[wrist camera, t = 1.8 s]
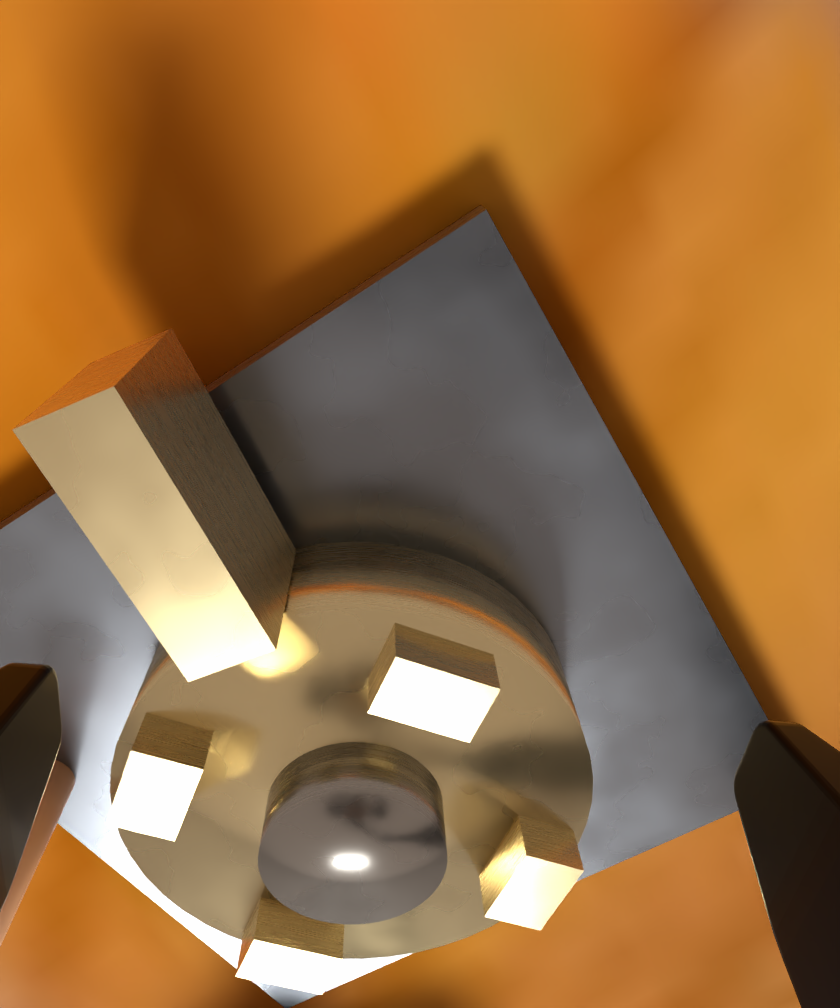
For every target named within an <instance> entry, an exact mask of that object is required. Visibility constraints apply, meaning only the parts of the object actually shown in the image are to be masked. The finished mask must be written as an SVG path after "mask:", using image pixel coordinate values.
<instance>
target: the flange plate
mask: <svg viewBox="0 0 840 1008" xmlns="http://www.w3.org/2000/svg"><path fill="white" fill-rule="evenodd" d="M205 388H206V390H207V392H208V393H209V395H210V397H211V399H212V401H213V402H214V404H215V406H216V408H217V410H218V411H219V413H220V415H221V417H222V418H223V420H224V422H225V424H226V426H227V427H228V429H229V431H230V433H231V435H232V436H233V438H234V440H235V442H236V444H237V445H238V447H239V449H240V451H241V453H242V454H243V456H244V458H245V460H246V461H247V463H248V465H249V467H250V469H251V470H252V472H253V474H254V476H255V478H256V479H257V481H258V483H259V485H260V487H261V488H262V490H263V492H264V494H265V495H266V497H267V499H268V501H269V503H270V504H271V506H272V508H273V510H274V512H275V513H276V515H277V517H278V519H279V521H280V522H281V524H282V526H283V528H284V530H285V531H286V533H287V535H288V537H289V538H290V540H291V542H292V544H293V546H294V547H295V548H300V547H305V546H310V545H316V544H321V543H335V542H349V541H358V542H381V543H389V544H396V545H402V546H408V547H414V548H418V549H421V550H425V551H428V552H432V553H436V554H439V555H443V556H445V557H448V558H450V559H452V560H455V561H457V562H460V563H462V564H464V565H467V566H469V567H471V568H473V569H475V570H476V571H478V572H480V573H482V574H483V575H485V576H487V577H489V578H490V579H492V580H494V581H495V582H497V583H498V584H499V585H501V586H502V587H503V588H504V589H506V590H507V591H508V592H510V593H511V594H512V595H514V596H515V597H516V598H517V599H518V600H519V601H520V602H521V603H522V604H523V605H524V606H525V607H526V608H527V609H528V610H529V611H530V612H531V613H532V614H533V615H534V617H535V618H536V619H537V621H538V622H539V623H540V625H541V626H542V628H543V629H544V630H545V632H546V633H547V635H548V636H549V638H550V640H551V642H552V644H553V646H554V648H555V650H556V652H557V654H558V656H559V659H560V662H561V666H562V669H563V672H564V675H565V678H566V681H567V684H568V687H569V690H570V694H571V697H572V700H573V703H574V706H575V709H576V712H577V715H578V718H579V722H580V725H581V728H582V731H583V734H584V737H585V740H586V744H587V747H588V750H589V753H590V757H591V765H592V773H593V792H592V803H591V808H590V812H589V816H588V820H587V824H586V826H585V829H584V831H583V834H582V836H581V838H580V841H579V843H578V845H577V846H578V849H579V853H580V857H581V861H582V865H583V868H584V872H583V873H582V874H581V876H580V877H579V878H578V880H577V881H579V880H581V879H583V878H585V877H588V876H590V875H592V874H595V873H597V872H599V871H601V870H604V869H606V868H608V867H610V866H613V865H615V864H617V863H620V862H622V861H624V860H626V859H629V858H631V857H633V856H635V855H638V854H640V853H642V852H645V851H647V850H649V849H651V848H654V847H656V846H658V845H661V844H663V843H665V842H667V841H670V840H672V839H674V838H676V837H679V836H681V835H683V834H686V833H688V832H690V831H692V830H695V829H697V828H699V827H702V826H704V825H706V824H708V823H711V822H713V821H715V820H717V819H720V818H722V817H724V816H727V815H729V814H731V813H733V812H736V811H738V807H737V803H736V799H735V794H734V779H735V774H736V771H737V769H738V766H739V764H740V762H741V759H742V757H743V754H744V752H745V750H746V747H747V745H748V743H749V740H750V738H751V736H752V733H753V731H754V729H755V727H756V726H757V725H758V724H759V723H761V722H763V721H768V719H767V717H766V715H765V713H764V711H763V709H762V708H761V706H760V704H759V702H758V700H757V699H756V697H755V695H754V693H753V691H752V690H751V688H750V686H749V684H748V682H747V681H746V679H745V677H744V675H743V673H742V671H741V670H740V668H739V666H738V664H737V662H736V661H735V659H734V657H733V655H732V653H731V652H730V650H729V648H728V646H727V644H726V643H725V641H724V639H723V637H722V635H721V633H720V632H719V630H718V628H717V626H716V624H715V623H714V621H713V619H712V617H711V615H710V614H709V612H708V610H707V608H706V606H705V605H704V603H703V601H702V599H701V597H700V595H699V594H698V592H697V590H696V588H695V586H694V585H693V583H692V581H691V579H690V577H689V576H688V574H687V572H686V570H685V568H684V567H683V565H682V563H681V561H680V559H679V557H678V556H677V554H676V552H675V550H674V548H673V547H672V545H671V543H670V541H669V539H668V538H667V536H666V534H665V532H664V530H663V529H662V527H661V525H660V523H659V521H658V519H657V518H656V516H655V514H654V512H653V510H652V509H651V507H650V505H649V503H648V501H647V500H646V498H645V496H644V494H643V492H642V491H641V489H640V487H639V485H638V483H637V481H636V480H635V478H634V476H633V474H632V472H631V471H630V469H629V467H628V465H627V463H626V462H625V460H624V458H623V456H622V454H621V453H620V451H619V449H618V447H617V445H616V443H615V442H614V440H613V438H612V436H611V434H610V433H609V431H608V429H607V427H606V425H605V424H604V422H603V420H602V418H601V416H600V415H599V413H598V411H597V409H596V407H595V405H594V404H593V402H592V400H591V398H590V396H589V395H588V393H587V391H586V389H585V387H584V386H583V384H582V382H581V380H580V378H579V377H578V375H577V373H576V371H575V369H574V367H573V366H572V364H571V362H570V360H569V358H568V357H567V355H566V353H565V351H564V349H563V348H562V346H561V344H560V342H559V340H558V339H557V337H556V335H555V333H554V331H553V329H552V328H551V326H550V324H549V322H548V320H547V319H546V317H545V315H544V313H543V311H542V310H541V308H540V306H539V304H538V302H537V301H536V299H535V297H534V295H533V293H532V291H531V290H530V288H529V286H528V284H527V282H526V281H525V279H524V277H523V275H522V273H521V272H520V270H519V268H518V266H517V264H516V263H515V261H514V259H513V257H512V255H511V253H510V252H509V250H508V248H507V246H506V244H505V243H504V241H503V239H502V237H501V235H500V234H499V232H498V230H497V228H496V226H495V225H494V223H493V221H492V219H491V217H490V215H489V214H488V212H487V210H486V209H485V208H484V207H483V206H482V205H480V206H478V207H477V208H475V209H474V210H472V211H471V212H469V213H468V214H466V215H465V216H463V217H462V218H460V219H459V220H457V221H456V222H454V223H453V224H451V225H450V226H448V227H447V228H445V229H444V230H442V231H440V232H439V233H437V234H436V235H434V236H433V237H431V238H430V239H428V240H427V241H425V242H424V243H422V244H421V245H419V246H418V247H416V248H415V249H413V250H412V251H410V252H409V253H407V254H406V255H404V256H403V257H401V258H400V259H398V260H397V261H395V262H394V263H392V264H391V265H389V266H388V267H386V268H385V269H383V270H381V271H380V272H378V273H377V274H375V275H374V276H372V277H371V278H369V279H368V280H366V281H365V282H363V283H362V284H360V285H359V286H357V287H356V288H354V289H353V290H351V291H350V292H348V293H347V294H345V295H344V296H342V297H341V298H339V299H338V300H336V301H335V302H333V303H332V304H330V305H329V306H327V307H325V308H324V309H322V310H321V311H319V312H318V313H316V314H315V315H313V316H312V317H310V318H309V319H307V320H306V321H304V322H303V323H301V324H300V325H298V326H297V327H295V328H294V329H292V330H291V331H289V332H288V333H286V334H285V335H283V336H282V337H280V338H279V339H277V340H276V341H274V342H273V343H271V344H270V345H268V346H266V347H265V348H263V349H262V350H260V351H259V352H257V353H256V354H254V355H253V356H251V357H250V358H248V359H247V360H245V361H244V362H242V363H241V364H239V365H238V366H236V367H235V368H233V369H232V370H230V371H229V372H227V373H226V374H224V375H223V376H221V377H220V378H218V379H217V380H215V381H214V382H212V383H211V384H209V385H207V386H206V387H205ZM159 643H160V641H159V639H158V638H157V637H156V635H155V634H154V632H153V631H152V629H151V628H150V627H149V625H148V624H147V622H146V621H145V619H144V618H143V617H142V615H141V614H140V612H139V611H138V609H137V608H136V606H135V605H134V604H133V602H132V601H131V599H130V598H129V596H128V595H127V594H126V592H125V591H124V589H123V588H122V586H121V585H120V584H119V582H118V581H117V579H116V578H115V576H114V575H113V574H112V572H111V571H110V569H109V568H108V566H107V565H106V563H105V562H104V561H103V559H102V558H101V556H100V555H99V553H98V552H97V551H96V549H95V548H94V546H93V545H92V543H91V542H90V541H89V539H88V538H87V536H86V535H85V533H84V532H83V530H82V529H81V528H80V526H79V525H78V523H77V522H76V520H75V519H74V518H73V516H72V515H71V513H70V512H69V510H68V509H67V508H66V506H65V505H64V503H63V502H62V500H61V499H60V497H59V496H58V495H57V493H56V492H55V490H54V489H53V488H52V489H50V490H49V491H47V492H46V493H44V494H43V495H41V496H40V497H38V498H37V499H35V500H33V501H32V502H30V503H29V504H27V505H26V506H24V507H23V508H21V509H20V510H18V511H17V512H15V513H14V514H12V515H11V516H9V517H8V518H6V519H5V520H3V521H2V522H0V668H1V667H3V666H5V665H7V664H10V663H17V662H18V663H31V664H44V665H49V666H51V667H52V668H53V669H54V670H55V672H56V675H57V680H58V691H59V702H60V713H61V724H62V734H61V742H60V746H59V750H58V753H57V756H56V759H55V760H57V761H60V762H62V763H63V764H65V765H66V766H68V767H69V768H70V770H71V771H72V772H73V774H74V776H75V785H74V788H73V790H72V792H71V794H70V796H69V798H68V801H67V803H66V805H65V807H64V809H63V811H62V814H61V816H60V818H59V820H58V822H57V823H58V824H59V825H61V826H62V827H63V828H64V829H66V830H67V831H68V832H69V833H71V834H72V835H73V836H74V837H75V838H77V839H78V840H79V841H80V842H82V843H83V844H84V845H85V846H86V847H88V848H89V849H90V850H91V851H93V852H94V853H95V854H96V855H98V856H99V857H100V858H101V859H102V860H104V861H105V862H106V863H107V864H109V865H110V866H111V867H112V868H114V869H115V870H116V871H117V872H118V873H120V874H121V875H122V876H123V877H125V878H126V879H127V880H128V881H130V882H131V883H132V884H133V885H134V886H136V887H137V888H138V889H139V890H141V891H142V892H143V893H144V894H146V895H147V896H148V897H149V898H150V899H152V900H153V901H154V902H155V903H157V904H158V905H159V906H160V907H161V908H163V909H164V910H165V911H166V912H168V913H169V914H170V915H171V916H173V917H174V918H175V919H176V920H177V921H179V922H180V923H181V924H182V925H184V926H185V927H186V928H187V929H189V930H190V931H191V932H192V933H193V934H195V935H196V936H197V937H198V938H200V939H201V940H202V941H203V942H205V943H206V944H207V945H208V946H209V947H211V948H212V949H213V950H214V951H216V952H217V953H218V954H219V955H221V956H222V957H223V958H224V959H225V960H227V961H228V962H229V963H230V964H232V965H233V966H234V967H235V968H236V969H237V965H238V959H239V953H240V948H241V942H242V940H240V939H237V938H234V937H231V936H229V935H227V934H224V933H222V932H220V931H218V930H216V929H214V928H212V927H210V926H208V925H206V924H204V923H202V922H201V921H199V920H198V919H196V918H194V917H193V916H191V915H189V914H188V913H186V912H185V911H183V910H182V909H180V908H179V907H178V906H177V905H175V904H174V903H173V902H172V901H170V900H169V899H168V898H167V897H165V896H164V895H163V894H162V893H161V892H160V891H159V890H158V889H157V888H156V887H155V886H154V885H153V884H152V883H151V882H150V881H149V880H148V879H147V878H146V877H145V875H144V874H143V873H142V871H141V870H140V869H139V867H138V866H137V865H136V863H135V862H134V861H133V859H132V858H131V856H130V854H129V852H128V850H127V848H126V847H125V845H124V843H123V841H122V839H121V837H120V834H119V831H118V828H117V827H114V826H110V825H106V822H107V819H108V816H109V813H110V810H111V807H112V804H111V797H110V775H111V765H112V761H113V756H114V752H115V748H116V744H117V742H118V739H119V737H120V735H121V732H122V730H123V728H124V725H125V723H126V720H127V718H128V716H129V713H130V711H131V709H132V706H133V704H134V702H135V699H136V697H137V695H138V692H139V690H140V687H141V685H142V683H143V680H144V678H145V676H146V673H147V671H148V669H149V666H150V664H151V662H152V659H153V657H154V655H155V652H156V650H157V648H158V645H159ZM410 954H412V953H410ZM410 954H404V955H397V956H391V957H381V958H368V959H343V960H342V961H341V963H340V965H339V966H338V968H337V970H336V972H335V973H334V975H333V977H332V978H331V980H330V982H329V984H328V985H327V987H326V989H325V990H324V992H326V991H328V990H330V989H333V988H335V987H337V986H339V985H342V984H344V983H346V982H349V981H351V980H353V979H355V978H358V977H360V976H362V975H365V974H367V973H369V972H371V971H374V970H376V969H378V968H380V967H383V966H385V965H387V964H390V963H392V962H394V961H396V960H399V959H401V958H403V957H406V956H408V955H410ZM251 981H252V982H254V983H255V984H256V985H257V986H259V987H260V988H261V989H262V990H264V991H265V992H266V993H267V994H268V995H270V996H271V997H272V998H273V999H275V1000H276V1001H277V1002H278V1003H280V1004H281V1005H282V1006H283V1007H284V1008H289V1007H292V1006H294V1005H296V1004H298V1003H301V1002H303V1001H305V1000H308V999H310V998H312V997H314V996H317V995H319V994H316V993H311V992H306V991H301V990H296V989H292V988H287V987H282V986H277V985H273V984H268V983H263V982H258V981H254V980H251ZM324 992H323V993H324Z"/></svg>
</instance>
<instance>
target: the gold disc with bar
mask: <svg viewBox="0 0 840 1008" xmlns="http://www.w3.org/2000/svg"><path fill="white" fill-rule="evenodd" d="M13 431H14V433H15V434H16V436H17V437H18V439H19V440H20V442H21V443H22V444H23V446H24V447H25V449H26V450H27V452H28V453H29V454H30V456H31V457H32V459H33V460H34V462H35V463H36V464H37V466H38V467H39V469H40V470H41V472H42V473H43V475H44V476H45V477H46V479H47V480H48V482H49V483H50V485H51V486H52V487H53V489H54V490H55V492H56V493H57V495H58V496H59V497H60V499H61V500H62V502H63V503H64V505H65V506H66V508H67V509H68V510H69V512H70V513H71V515H72V516H73V518H74V519H75V520H76V522H77V523H78V525H79V526H80V528H81V529H82V530H83V532H84V533H85V535H86V536H87V538H88V539H89V541H90V542H91V543H92V545H93V546H94V548H95V549H96V551H97V552H98V553H99V555H100V556H101V558H102V559H103V561H104V562H105V563H106V565H107V566H108V568H109V569H110V571H111V572H112V574H113V575H114V576H115V578H116V579H117V581H118V582H119V584H120V585H121V586H122V588H123V589H124V591H125V592H126V594H127V595H128V596H129V598H130V599H131V601H132V602H133V604H134V605H135V606H136V608H137V609H138V611H139V612H140V614H141V615H142V617H143V618H144V619H145V621H146V622H147V624H148V625H149V627H150V628H151V629H152V631H153V632H154V634H155V635H156V637H157V638H158V639H159V641H160V643H159V645H158V648H157V650H156V652H155V655H154V657H153V659H152V662H151V664H150V666H149V669H148V671H147V673H146V676H145V678H144V680H143V683H142V685H141V687H140V690H139V692H138V695H137V697H136V699H135V702H134V704H133V706H132V709H131V711H130V713H129V716H128V718H127V720H126V723H125V725H124V728H123V730H122V732H121V735H120V737H119V739H118V742H117V744H116V748H115V752H114V756H113V761H112V765H111V775H110V797H111V804H112V807H111V810H110V813H109V816H108V819H107V822H106V825H110V826H114V827H117V828H118V831H119V834H120V837H121V839H122V841H123V843H124V845H125V847H126V848H127V850H128V852H129V854H130V856H131V858H132V859H133V861H134V862H135V863H136V865H137V866H138V867H139V869H140V870H141V871H142V873H143V874H144V875H145V877H146V878H147V879H148V880H149V881H150V882H151V883H152V884H153V885H154V886H155V887H156V888H157V889H158V890H159V891H160V892H161V893H162V894H163V895H164V896H165V897H167V898H168V899H169V900H170V901H172V902H173V903H174V904H175V905H177V906H178V907H179V908H180V909H182V910H183V911H185V912H186V913H188V914H189V915H191V916H193V917H194V918H196V919H198V920H199V921H201V922H202V923H204V924H206V925H208V926H210V927H212V928H214V929H216V930H218V931H220V932H222V933H224V934H227V935H229V936H231V937H234V938H237V939H240V940H242V942H241V948H240V953H239V959H238V965H237V971H236V977H239V978H244V979H249V980H254V981H258V982H263V983H268V984H273V985H277V986H282V987H287V988H292V989H296V990H301V991H306V992H311V993H316V994H320V995H322V994H323V992H324V990H325V989H326V987H327V985H328V984H329V982H330V980H331V978H332V977H333V975H334V973H335V972H336V970H337V968H338V966H339V965H340V963H341V961H342V960H343V959H368V958H381V957H391V956H397V955H404V954H410V953H416V952H420V951H424V950H428V949H432V948H436V947H440V946H444V945H446V944H449V943H452V942H455V941H458V940H461V939H464V938H467V937H469V936H471V935H473V934H475V933H478V932H480V931H482V930H484V929H486V928H489V927H491V926H493V925H494V924H496V923H498V922H499V921H504V922H508V923H512V924H516V925H520V926H524V927H529V928H533V929H537V930H541V929H542V927H543V926H544V925H545V923H546V922H547V920H548V919H549V918H550V916H551V915H552V914H553V912H554V911H555V910H556V908H557V907H558V906H559V904H560V903H561V901H562V900H563V899H564V897H565V896H566V895H567V893H568V892H569V891H570V889H571V888H572V887H573V885H574V884H575V882H576V881H577V880H578V878H579V877H580V876H581V874H582V873H583V872H584V868H583V865H582V861H581V857H580V853H579V849H578V846H577V845H578V843H579V841H580V838H581V836H582V834H583V831H584V829H585V826H586V824H587V820H588V816H589V812H590V808H591V803H592V792H593V773H592V765H591V757H590V753H589V750H588V747H587V744H586V740H585V737H584V734H583V731H582V728H581V725H580V722H579V718H578V715H577V712H576V709H575V706H574V703H573V700H572V697H571V694H570V690H569V687H568V684H567V681H566V678H565V675H564V672H563V669H562V666H561V662H560V659H559V656H558V654H557V652H556V650H555V648H554V646H553V644H552V642H551V640H550V638H549V636H548V635H547V633H546V632H545V630H544V629H543V628H542V626H541V625H540V623H539V622H538V621H537V619H536V618H535V617H534V615H533V614H532V613H531V612H530V611H529V610H528V609H527V608H526V607H525V606H524V605H523V604H522V603H521V602H520V601H519V600H518V599H517V598H516V597H515V596H514V595H512V594H511V593H510V592H508V591H507V590H506V589H504V588H503V587H502V586H501V585H499V584H498V583H497V582H495V581H494V580H492V579H490V578H489V577H487V576H485V575H483V574H482V573H480V572H478V571H476V570H475V569H473V568H471V567H469V566H467V565H464V564H462V563H460V562H457V561H455V560H452V559H450V558H448V557H445V556H443V555H439V554H436V553H432V552H428V551H425V550H421V549H418V548H414V547H408V546H402V545H396V544H389V543H381V542H358V541H349V542H335V543H321V544H316V545H310V546H305V547H300V548H295V547H294V546H293V544H292V542H291V540H290V538H289V537H288V535H287V533H286V531H285V530H284V528H283V526H282V524H281V522H280V521H279V519H278V517H277V515H276V513H275V512H274V510H273V508H272V506H271V504H270V503H269V501H268V499H267V497H266V495H265V494H264V492H263V490H262V488H261V487H260V485H259V483H258V481H257V479H256V478H255V476H254V474H253V472H252V470H251V469H250V467H249V465H248V463H247V461H246V460H245V458H244V456H243V454H242V453H241V451H240V449H239V447H238V445H237V444H236V442H235V440H234V438H233V436H232V435H231V433H230V431H229V429H228V427H227V426H226V424H225V422H224V420H223V418H222V417H221V415H220V413H219V411H218V410H217V408H216V406H215V404H214V402H213V401H212V399H211V397H210V395H209V393H208V392H207V390H206V388H205V386H204V384H203V383H202V381H201V379H200V377H199V375H198V374H197V372H196V370H195V368H194V367H193V365H192V363H191V361H190V359H189V358H188V356H187V354H186V352H185V350H184V349H183V347H182V345H181V343H180V341H179V340H178V338H177V336H176V334H175V333H174V331H173V329H172V328H170V329H168V330H166V331H163V332H161V333H159V334H157V335H154V336H152V337H150V338H147V339H145V340H143V341H140V342H138V343H136V344H134V345H131V346H129V347H127V348H124V349H122V350H120V351H117V352H115V353H113V354H110V355H108V356H106V357H104V358H101V359H99V360H97V361H94V362H92V363H90V364H89V365H88V366H87V367H86V368H84V369H83V370H82V371H81V372H80V373H78V374H77V375H76V376H75V377H74V378H73V379H71V380H70V381H69V382H68V383H67V384H66V385H64V386H63V387H62V388H61V389H60V390H58V391H57V392H56V393H55V394H54V395H53V396H51V397H50V398H49V399H48V400H47V401H46V402H44V403H43V404H42V405H41V406H40V407H38V408H37V409H36V410H35V411H34V412H33V413H31V414H30V415H29V416H28V417H27V418H25V419H24V420H23V421H22V422H21V423H20V424H18V425H17V426H16V427H15V428H14V429H13Z"/></svg>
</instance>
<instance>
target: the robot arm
mask: <svg viewBox="0 0 840 1008" xmlns="http://www.w3.org/2000/svg"><path fill="white" fill-rule="evenodd" d="M61 734H62V724H61V713H60V702H59V691H58V680H57V675H56V672H55V670H54V669H53V668H52V667H51V666H49V665H44V664H31V663H18V662H17V663H10V664H7V665H5V666H3V667H1V668H0V912H1V910H2V907H3V905H4V903H5V900H6V898H7V896H8V893H9V890H10V888H11V885H12V882H13V880H14V877H15V874H16V872H17V869H18V866H19V863H20V860H21V857H22V854H23V851H24V849H25V846H26V843H27V840H28V837H29V834H30V831H31V828H32V826H33V823H34V820H35V817H36V814H37V811H38V808H39V805H40V802H41V800H42V797H43V794H44V791H45V788H46V785H47V782H48V779H49V777H50V774H51V771H52V768H53V765H54V762H55V759H56V756H57V753H58V750H59V746H60V742H61ZM734 794H735V799H736V803H737V807H738V810H739V814H740V817H741V821H742V825H743V828H744V832H745V835H746V839H747V843H748V846H749V850H750V853H751V857H752V861H753V864H754V868H755V871H756V875H757V878H758V882H759V886H760V889H761V893H762V896H763V900H764V904H765V907H766V911H767V914H768V917H769V920H770V924H771V927H772V930H773V933H774V936H775V939H776V942H777V944H778V947H779V950H780V953H781V956H782V958H783V961H784V964H785V966H786V969H787V971H788V974H789V977H790V979H791V982H792V984H793V987H794V989H795V992H796V995H797V997H798V1000H799V1002H800V1005H801V1008H840V751H838V750H837V749H835V748H834V747H832V746H831V745H830V744H828V743H827V742H825V741H824V740H823V739H821V738H820V737H818V736H817V735H815V734H814V733H813V732H811V731H810V730H808V729H807V728H806V727H804V726H802V725H800V724H798V723H793V722H782V721H769V720H768V721H763V722H761V723H759V724H758V725H757V726H756V727H755V729H754V731H753V733H752V736H751V738H750V740H749V743H748V745H747V747H746V750H745V752H744V754H743V757H742V759H741V762H740V764H739V766H738V769H737V771H736V774H735V779H734Z"/></svg>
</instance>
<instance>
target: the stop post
mask: <svg viewBox="0 0 840 1008" xmlns="http://www.w3.org/2000/svg"><path fill="white" fill-rule="evenodd" d="M74 785H75V776H74V774H73V772H72V771H71V770H70V768H69V767H68V766H66V765H65V764H63V763H62V762H60V761H57V760H55V762H54V765H53V768H52V771H51V774H50V777H49V779H48V782H47V785H46V788H45V791H44V794H43V797H42V800H41V802H40V805H39V808H38V811H37V814H36V817H35V820H34V823H33V826H32V828H31V831H30V834H29V837H28V840H27V843H26V846H25V849H24V851H23V854H22V857H21V860H20V863H19V866H18V869H17V872H16V874H15V877H14V880H13V882H12V885H11V888H10V890H9V893H8V896H7V898H6V900H5V903H4V905H3V907H2V910H1V912H0V946H1V944H2V942H3V939H4V937H5V935H6V933H7V931H8V929H9V926H10V924H11V922H12V920H13V918H14V916H15V913H16V911H17V909H18V907H19V905H20V903H21V900H22V898H23V896H24V894H25V892H26V890H27V887H28V885H29V883H30V881H31V879H32V877H33V874H34V872H35V870H36V868H37V866H38V864H39V861H40V859H41V857H42V855H43V853H44V851H45V848H46V846H47V844H48V842H49V840H50V837H51V835H52V833H53V831H54V829H55V827H56V824H57V822H58V820H59V818H60V816H61V814H62V811H63V809H64V807H65V805H66V803H67V801H68V798H69V796H70V794H71V792H72V790H73V788H74Z"/></svg>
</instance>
